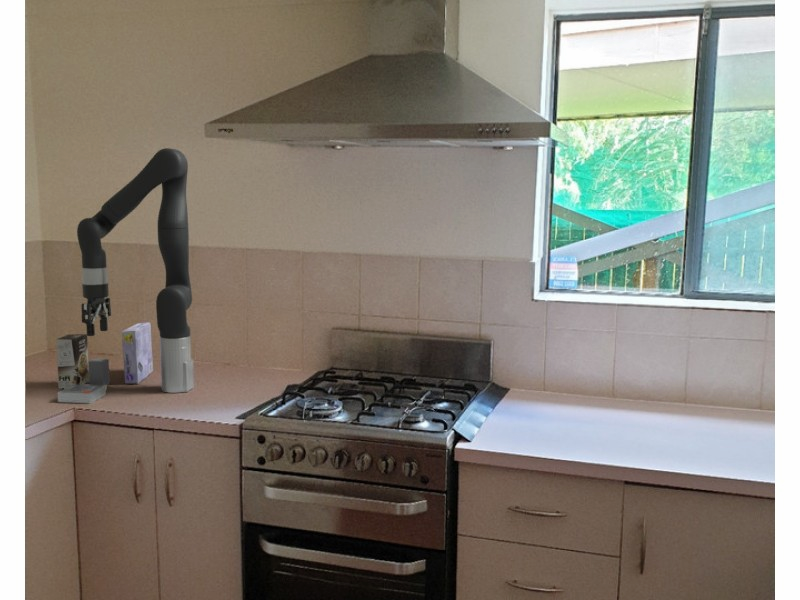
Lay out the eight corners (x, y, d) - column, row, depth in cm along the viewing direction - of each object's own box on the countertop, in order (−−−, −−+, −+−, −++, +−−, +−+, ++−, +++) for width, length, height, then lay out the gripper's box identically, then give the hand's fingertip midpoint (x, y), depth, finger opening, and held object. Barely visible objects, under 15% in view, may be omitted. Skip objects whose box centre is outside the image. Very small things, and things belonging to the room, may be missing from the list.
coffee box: (78, 389, 243) (75, 339, 241) (57, 388, 243) (55, 338, 241) (90, 382, 252) (88, 333, 250) (70, 381, 252) (68, 333, 250)
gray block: (96, 386, 246) (95, 357, 245) (109, 387, 246) (108, 358, 244) (89, 390, 242) (88, 360, 240) (103, 391, 241) (101, 361, 240)
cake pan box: (140, 370, 268) (138, 320, 266) (154, 370, 269) (153, 321, 266) (122, 384, 249) (120, 331, 247) (138, 384, 250) (136, 331, 247)
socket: (106, 394, 237) (105, 382, 237) (90, 403, 227) (89, 391, 227) (75, 393, 238) (74, 381, 238) (57, 402, 228) (57, 390, 228)
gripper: (95, 285, 231) (98, 338, 234) (117, 279, 245) (119, 329, 248) (71, 284, 232) (74, 337, 234) (94, 279, 246) (97, 329, 248)
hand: (97, 333), depth 241 cm, fingers open, 8 cm apart
